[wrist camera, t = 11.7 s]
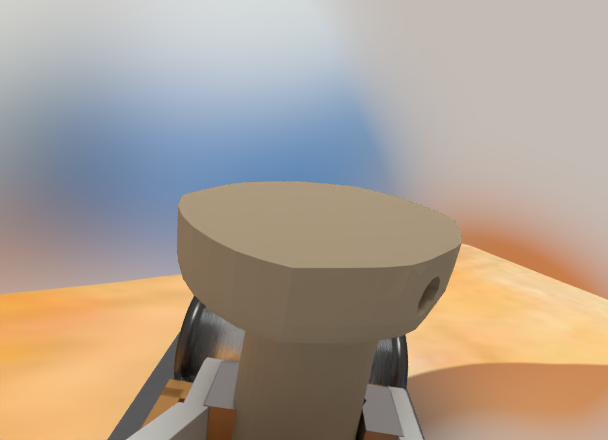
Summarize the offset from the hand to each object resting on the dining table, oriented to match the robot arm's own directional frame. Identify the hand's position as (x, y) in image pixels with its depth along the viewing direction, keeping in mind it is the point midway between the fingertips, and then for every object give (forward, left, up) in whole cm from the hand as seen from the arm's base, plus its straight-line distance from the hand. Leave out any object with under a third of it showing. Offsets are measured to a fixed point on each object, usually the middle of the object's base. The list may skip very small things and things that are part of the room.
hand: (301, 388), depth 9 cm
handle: (0, +1, -9) cm, 9 cm away
